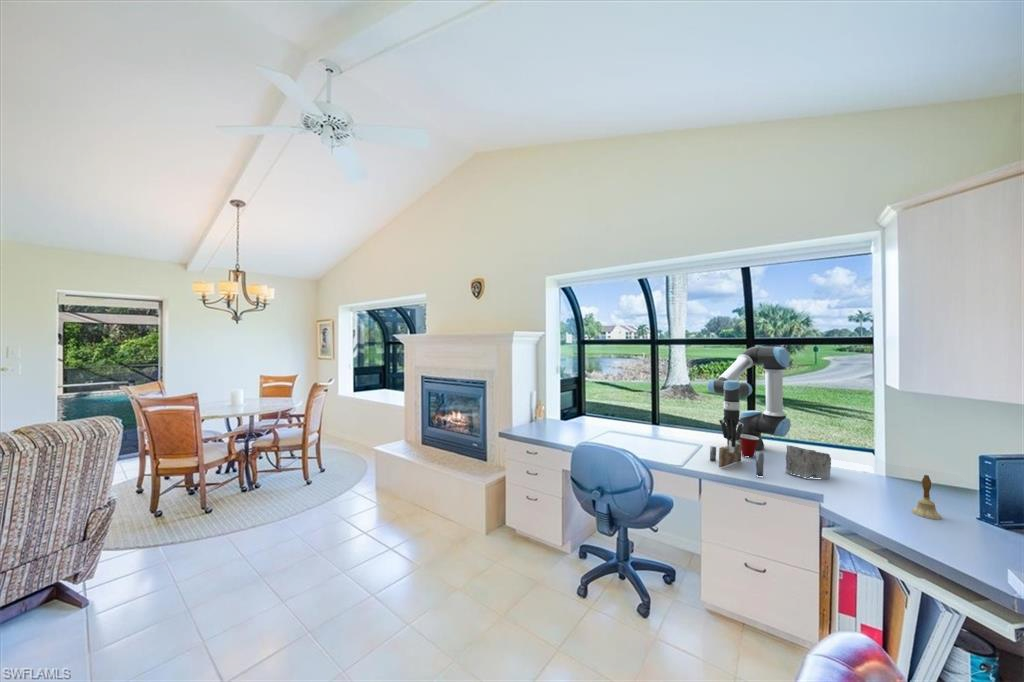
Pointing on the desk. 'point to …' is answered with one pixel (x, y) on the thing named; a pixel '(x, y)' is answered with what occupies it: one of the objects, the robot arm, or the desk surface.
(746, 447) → the plastic cup
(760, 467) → the gate frame
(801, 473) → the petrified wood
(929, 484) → the hand bell
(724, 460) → the gate
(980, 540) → the desk surface
